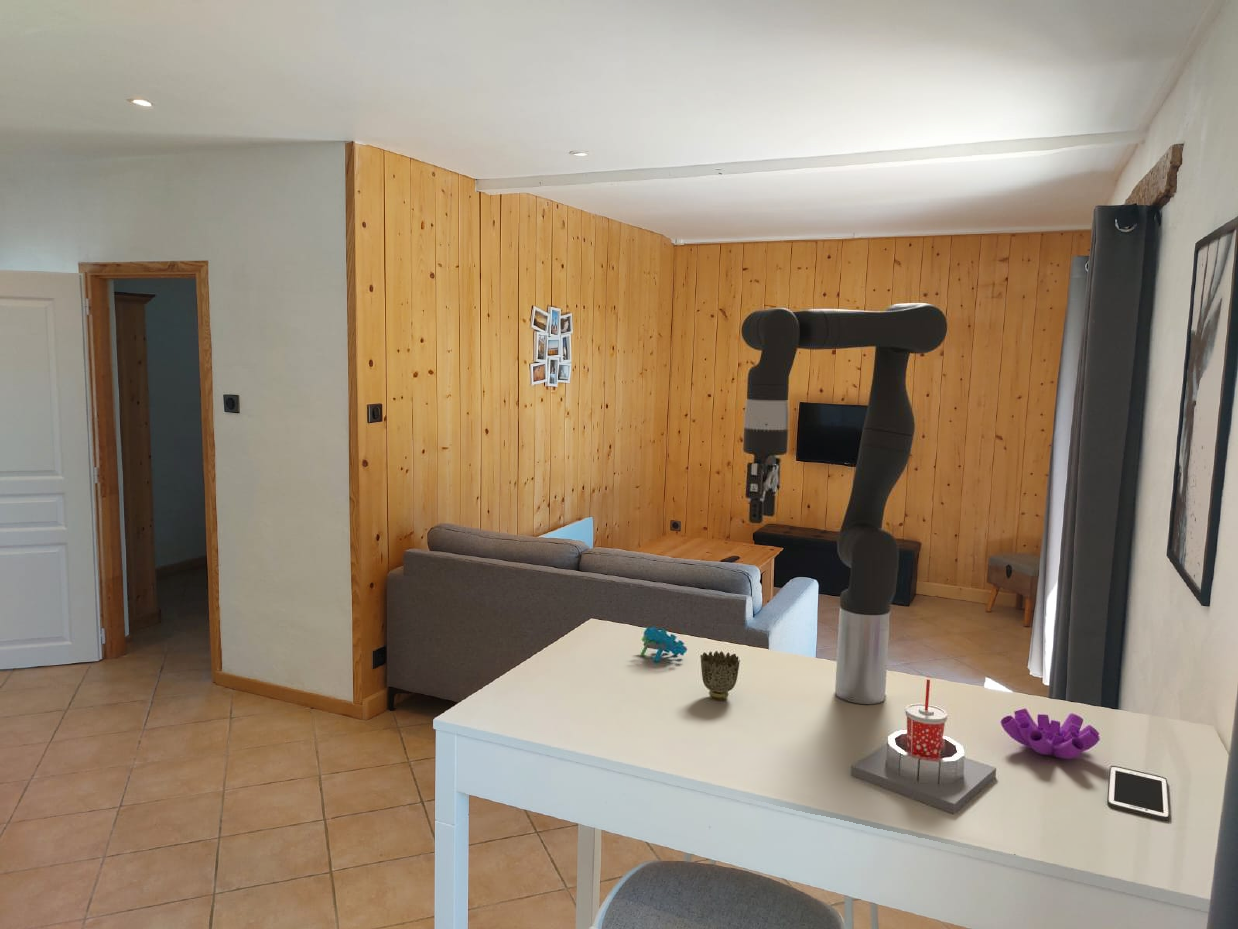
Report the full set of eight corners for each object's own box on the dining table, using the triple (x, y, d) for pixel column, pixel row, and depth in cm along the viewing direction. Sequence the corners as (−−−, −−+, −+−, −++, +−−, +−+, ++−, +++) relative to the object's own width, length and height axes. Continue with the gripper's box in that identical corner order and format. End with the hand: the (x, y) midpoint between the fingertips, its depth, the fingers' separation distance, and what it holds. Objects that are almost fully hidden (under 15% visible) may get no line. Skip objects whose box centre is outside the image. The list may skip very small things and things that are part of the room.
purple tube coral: (1098, 784, 137) (1113, 754, 131) (998, 770, 141) (1007, 740, 135) (1087, 721, 145) (1101, 690, 139) (993, 710, 149) (1001, 679, 143)
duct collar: (905, 744, 139) (907, 724, 139) (973, 767, 131) (975, 745, 131) (874, 766, 131) (875, 744, 131) (944, 791, 123) (945, 768, 123)
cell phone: (1166, 783, 132) (1167, 777, 132) (1169, 825, 119) (1170, 819, 119) (1109, 770, 136) (1109, 764, 136) (1106, 809, 123) (1107, 803, 123)
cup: (740, 706, 157) (742, 664, 156) (700, 705, 157) (702, 663, 156) (735, 691, 165) (737, 651, 164) (697, 689, 165) (699, 650, 164)
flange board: (897, 744, 143) (898, 735, 142) (995, 777, 132) (996, 767, 131) (850, 775, 131) (851, 765, 131) (953, 814, 120) (954, 804, 120)
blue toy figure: (696, 653, 181) (671, 626, 176) (685, 677, 179) (659, 650, 174) (659, 647, 189) (634, 621, 184) (647, 669, 187) (622, 644, 182)
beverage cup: (952, 772, 129) (958, 684, 128) (920, 779, 127) (926, 689, 126) (924, 755, 135) (929, 670, 134) (893, 761, 133) (898, 675, 131)
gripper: (778, 429, 138) (773, 527, 140) (796, 425, 151) (792, 515, 153) (733, 427, 141) (729, 523, 143) (755, 423, 154) (751, 511, 156)
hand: (762, 519), depth 148 cm, fingers open, 8 cm apart
